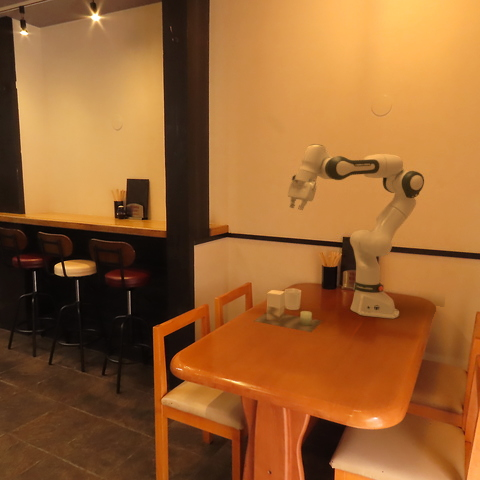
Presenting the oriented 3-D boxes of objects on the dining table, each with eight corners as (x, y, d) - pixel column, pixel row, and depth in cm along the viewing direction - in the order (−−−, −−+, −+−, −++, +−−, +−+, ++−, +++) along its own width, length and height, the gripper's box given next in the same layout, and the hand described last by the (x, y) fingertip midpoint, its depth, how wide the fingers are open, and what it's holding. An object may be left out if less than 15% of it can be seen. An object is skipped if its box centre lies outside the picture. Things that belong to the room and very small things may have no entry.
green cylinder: (312, 323, 179) (313, 312, 179) (309, 326, 175) (309, 315, 174) (302, 321, 182) (302, 310, 181) (298, 324, 177) (298, 313, 177)
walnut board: (322, 323, 183) (322, 320, 183) (311, 335, 169) (311, 332, 169) (267, 314, 195) (268, 311, 195) (253, 324, 181) (253, 321, 181)
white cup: (300, 308, 205) (300, 288, 203) (300, 313, 197) (301, 293, 195) (283, 307, 205) (284, 288, 204) (284, 312, 198) (284, 292, 196)
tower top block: (284, 304, 185) (285, 291, 184) (279, 308, 180) (280, 294, 179) (272, 302, 188) (272, 289, 187) (266, 306, 182) (267, 292, 182)
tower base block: (284, 317, 186) (284, 304, 185) (279, 321, 181) (279, 308, 180) (271, 315, 189) (272, 302, 188) (266, 319, 183) (266, 306, 182)
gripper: (323, 182, 177) (312, 213, 178) (302, 180, 196) (292, 208, 197) (310, 177, 175) (299, 208, 176) (290, 176, 194) (281, 204, 195)
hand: (295, 208), depth 187 cm, fingers open, 8 cm apart
